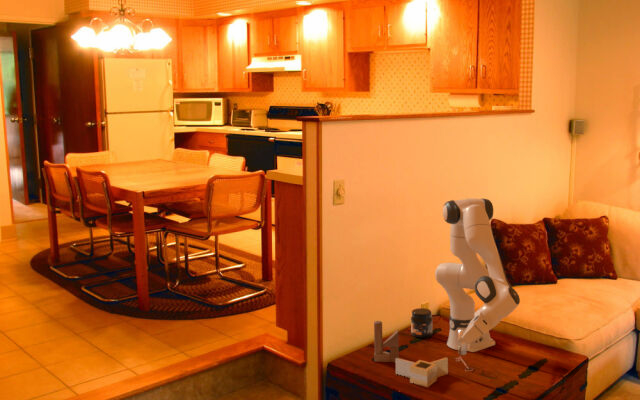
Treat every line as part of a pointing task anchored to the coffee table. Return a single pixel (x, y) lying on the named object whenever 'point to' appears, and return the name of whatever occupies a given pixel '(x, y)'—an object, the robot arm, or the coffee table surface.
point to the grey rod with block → (385, 345)
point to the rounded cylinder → (461, 345)
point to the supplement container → (421, 323)
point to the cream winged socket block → (422, 370)
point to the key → (464, 364)
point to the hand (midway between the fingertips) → (460, 339)
